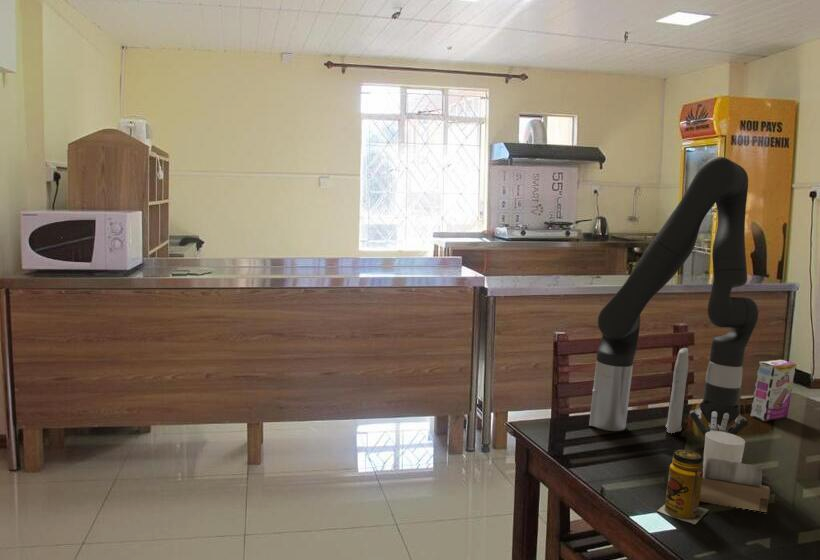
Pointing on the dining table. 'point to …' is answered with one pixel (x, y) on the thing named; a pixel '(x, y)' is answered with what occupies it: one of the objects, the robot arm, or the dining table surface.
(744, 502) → the bay
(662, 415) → the dining table surface
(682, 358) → the tall pale column
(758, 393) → the candy bar box
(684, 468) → the condiment
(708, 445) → the white cup
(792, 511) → the dining table surface
